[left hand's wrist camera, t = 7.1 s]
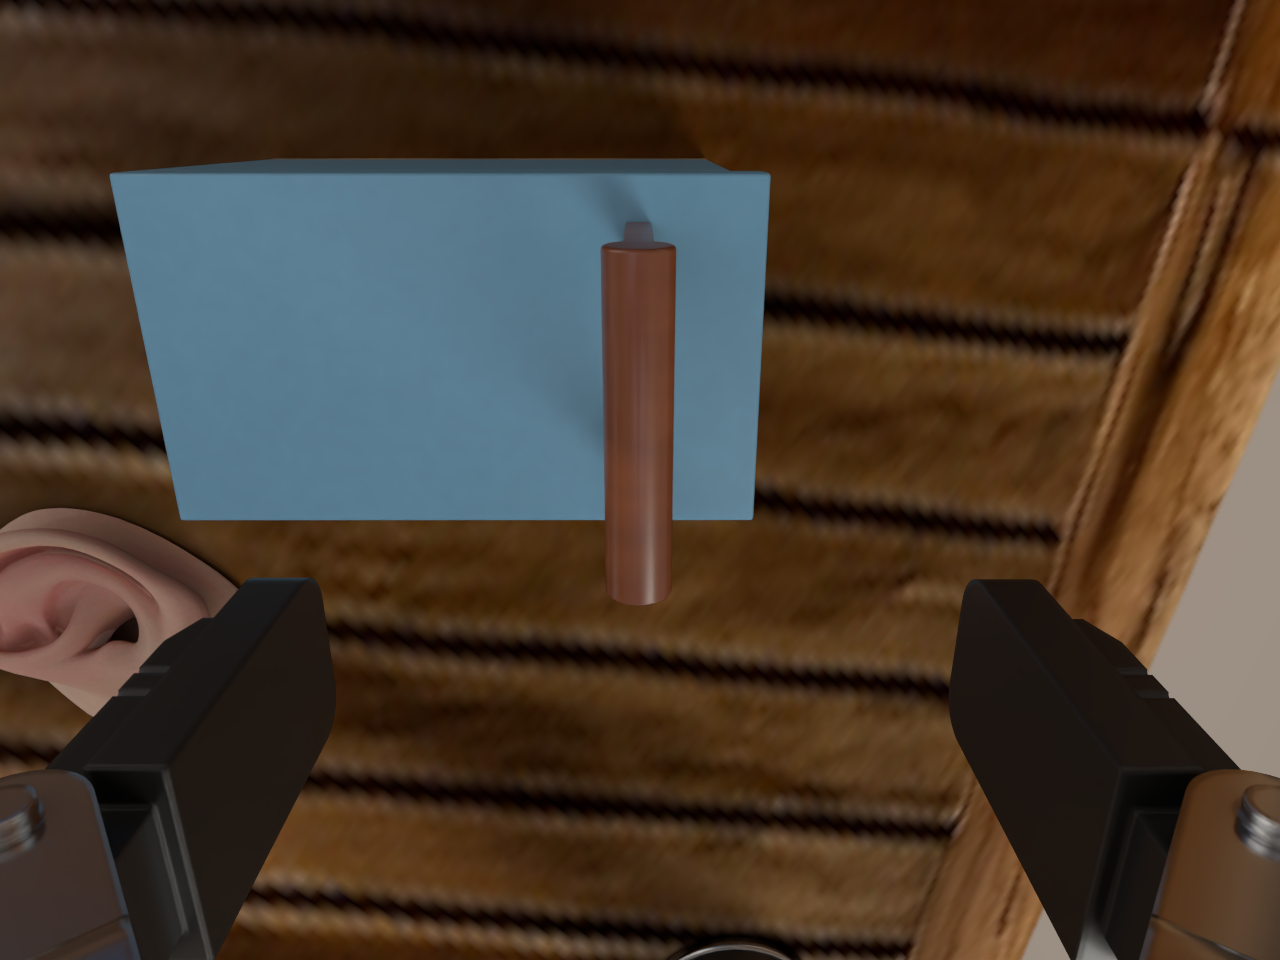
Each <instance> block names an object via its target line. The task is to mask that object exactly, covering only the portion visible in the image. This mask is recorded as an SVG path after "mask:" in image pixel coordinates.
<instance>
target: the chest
mask: <svg viewBox="0 0 1280 960" xmlns="http://www.w3.org/2000/svg"><path fill="white" fill-rule="evenodd" d="M140 171H729V170H727V169H725V168H723V167H720V166H718V165H716V164H714V163H712V162H710V161H708V160H707V159H706V158H276V159H269V160H257V161H246V162H234V163H222V164H210V165H199V166H187V167H175V168H163V169H151V170H140Z"/></svg>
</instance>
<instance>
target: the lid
mask: <svg viewBox="0 0 1280 960" xmlns="http://www.w3.org/2000/svg"><path fill="white" fill-rule="evenodd" d="M110 181H111V185H112V190H113V195H114V200H115V205H116V210H117V214H118V219H119V224H120V229H121V234H122V238H123V243H124V248H125V253H126V258H127V263H128V267H129V272H130V277H131V282H132V287H133V292H134V296H135V301H136V306H137V311H138V316H139V320H140V325H141V330H142V335H143V340H144V345H145V349H146V354H147V359H148V364H149V369H150V374H151V378H152V383H153V388H154V393H155V398H156V403H157V407H158V412H159V417H160V422H161V427H162V431H163V436H164V441H165V446H166V451H167V456H168V460H169V465H170V470H171V475H172V480H173V485H174V489H175V494H176V499H177V504H178V509H179V513H180V518H181V520H605V568H606V591H607V594H608V595H609V596H610V598H612V599H613V600H615V601H617V602H619V603H622V604H626V605H633V606H644V605H651V604H655V603H658V602H661V601H663V600H664V599H666V598H667V597H668V596H669V594H670V592H671V588H672V523H673V520H751V519H752V518H753V509H754V490H755V470H756V450H757V431H758V411H759V392H760V372H761V353H762V333H763V314H764V294H765V274H766V255H767V235H768V216H769V196H770V174H769V173H766V172H763V171H128V172H116V173H112V174H110Z"/></svg>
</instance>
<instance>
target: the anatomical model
mask: <svg viewBox="0 0 1280 960" xmlns="http://www.w3.org/2000/svg"><path fill="white" fill-rule="evenodd" d="M237 590H238V589H237V588H236V587H235V586H234V585H233V584H232V583H231V582H230V581H228V580H227V579H226V578H225V577H223V576H222V575H221V574H219V573H218V572H217V571H215V570H214V569H212V568H211V567H210V566H208V565H207V564H205V563H204V562H202V561H200V560H199V559H197V558H196V557H194V556H192V555H191V554H189V553H188V552H186V551H185V550H183V549H181V548H180V547H178V546H176V545H174V544H173V543H171V542H169V541H167V540H166V539H164V538H162V537H160V536H158V535H156V534H154V533H152V532H150V531H148V530H146V529H143V528H141V527H139V526H136V525H134V524H131V523H129V522H126V521H124V520H121V519H119V518H115V517H112V516H108V515H105V514H101V513H97V512H92V511H87V510H79V509H70V508H49V509H42V510H36V511H33V512H29V513H27V514H24V515H22V516H20V517H18V518H17V519H15V520H13V521H11V522H10V523H8V524H7V525H6V526H5V527H3V528H2V529H1V530H0V669H2V670H5V671H8V672H11V673H15V674H19V675H24V676H28V677H32V678H37V679H41V680H45V681H49V682H50V683H51V684H52V685H53V686H54V687H56V688H57V689H58V690H59V691H60V692H61V693H62V694H64V695H65V696H66V697H67V698H68V699H70V700H71V701H72V702H73V703H75V704H76V705H77V706H79V707H80V708H81V709H83V710H84V711H85V712H87V713H88V714H90V715H91V716H93V717H94V716H95V715H96V714H97V713H98V711H99V710H100V709H101V708H102V707H103V706H104V705H105V704H106V703H107V702H108V701H109V700H110V699H111V697H112V696H118V690H119V689H120V688H121V687H122V686H123V685H124V683H125V682H126V681H127V680H128V679H129V678H130V677H131V676H132V675H133V674H134V673H139V667H140V666H141V665H142V664H143V663H144V662H145V661H146V660H147V659H148V658H149V657H150V655H151V654H152V653H153V652H154V651H155V650H156V649H157V648H158V647H159V646H160V645H161V644H162V643H163V641H164V640H166V639H168V638H169V637H171V636H173V635H175V634H176V633H178V632H180V631H181V630H183V629H185V628H186V627H188V626H190V625H191V624H193V623H195V622H196V621H198V620H200V619H201V618H214V617H215V615H216V614H217V613H218V612H219V611H220V610H221V609H222V607H223V606H224V605H225V604H226V603H227V602H228V601H229V599H230V598H231V597H232V596H233V595H234V594H235V592H236V591H237Z"/></svg>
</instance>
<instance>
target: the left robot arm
mask: <svg viewBox="0 0 1280 960" xmlns="http://www.w3.org/2000/svg"><path fill="white" fill-rule="evenodd" d="M335 704H336V688H335V680H334V673H333V666H332V660H331V653H330V646H329V639H328V633H327V626H326V619H325V613H324V606H323V599H322V594H321V591H320V588H319V585H318V583H317V582H316V581H315V580H314V579H312V578H250V579H248V580H246V581H245V582H244V583H243V584H242V586H241V587H240V588H239V589H238V590H237V591H236V592H235V594H234V595H233V596H232V597H231V598H230V599H229V601H228V602H227V603H226V604H225V605H224V606H223V607H222V609H221V610H220V611H219V612H218V613H217V614H216V615H215V617H214V618H201V619H200V620H198V621H196V622H195V623H193V624H191V625H190V626H188V627H186V628H185V629H183V630H181V631H180V632H178V633H176V634H175V635H173V636H171V637H169V638H168V639H166V640H164V641H163V643H162V644H161V645H160V646H159V647H158V648H157V649H156V650H155V651H154V652H153V653H152V654H151V655H150V657H149V658H148V659H147V660H146V661H145V662H144V663H143V664H142V665H141V666H140V667H139V673H134V674H133V675H132V676H131V677H130V678H129V679H128V680H127V681H126V682H125V683H124V685H123V686H122V687H121V688H120V689H119V690H118V696H112V697H111V699H110V700H109V701H108V702H107V703H106V704H105V705H104V706H103V707H102V708H101V709H100V710H99V711H98V713H97V714H96V715H95V716H94V717H93V718H92V719H91V720H90V721H89V722H88V723H87V724H86V725H85V727H84V728H83V729H82V730H81V731H80V732H79V733H78V734H77V735H76V736H75V737H74V738H73V739H72V741H71V742H70V743H69V744H68V745H67V746H66V747H65V748H64V749H63V750H62V751H61V752H60V753H59V755H58V756H57V757H56V758H55V759H54V760H53V761H52V762H51V763H50V764H49V765H48V766H47V767H46V769H44V770H34V771H27V772H22V773H18V774H13V775H9V776H6V777H3V778H0V960H215V958H216V956H217V954H218V952H219V950H220V948H221V946H222V944H223V942H224V940H225V938H226V936H227V934H228V932H229V930H230V928H231V927H232V925H233V923H234V921H235V919H236V917H237V915H238V913H239V911H240V909H241V907H242V905H243V903H244V901H245V899H246V897H247V895H248V893H249V891H250V889H251V887H252V885H253V884H254V882H255V880H256V878H257V876H258V874H259V872H260V870H261V868H262V866H263V864H264V862H265V860H266V858H267V856H268V854H269V852H270V850H271V848H272V846H273V844H274V843H275V841H276V839H277V837H278V835H279V833H280V831H281V829H282V827H283V825H284V823H285V821H286V819H287V817H288V815H289V813H290V811H291V809H292V807H293V805H294V803H295V801H296V800H297V798H298V796H299V794H300V792H301V790H302V788H303V786H304V784H305V782H306V780H307V778H308V776H309V774H310V772H311V770H312V768H313V766H314V764H315V762H316V760H317V758H318V757H319V755H320V753H321V751H322V749H323V747H324V745H325V743H326V741H327V739H328V737H329V734H330V731H331V728H332V724H333V720H334V714H335ZM949 711H950V718H951V723H952V727H953V731H954V734H955V737H956V739H957V741H958V743H959V745H960V747H961V749H962V751H963V753H964V755H965V757H966V759H967V760H968V762H969V764H970V766H971V768H972V770H973V772H974V774H975V776H976V778H977V780H978V782H979V784H980V786H981V788H982V789H983V791H984V793H985V795H986V797H987V799H988V801H989V803H990V805H991V807H992V809H993V811H994V813H995V815H996V816H997V818H998V820H999V822H1000V824H1001V826H1002V828H1003V830H1004V832H1005V834H1006V836H1007V838H1008V840H1009V842H1010V843H1011V845H1012V847H1013V849H1014V851H1015V853H1016V855H1017V857H1018V859H1019V861H1020V863H1021V865H1022V867H1023V869H1024V871H1025V872H1026V874H1027V876H1028V878H1029V880H1030V882H1031V884H1032V886H1033V888H1034V890H1035V892H1036V894H1037V896H1038V898H1039V899H1040V901H1041V903H1042V905H1043V907H1044V909H1045V911H1046V913H1047V915H1048V917H1049V919H1050V921H1051V923H1052V924H1053V926H1054V928H1055V930H1056V932H1057V934H1058V936H1059V938H1060V940H1061V942H1062V944H1063V946H1064V948H1065V950H1066V952H1067V954H1068V955H1069V957H1070V959H1071V960H1280V778H1277V777H1274V776H1271V775H1267V774H1262V773H1258V772H1253V771H1245V770H1241V769H1240V768H1239V767H1238V766H1237V765H1236V764H1235V763H1234V762H1233V761H1232V760H1231V759H1230V757H1229V756H1228V755H1227V754H1226V753H1225V752H1224V751H1223V750H1222V749H1221V748H1220V747H1219V746H1218V745H1217V744H1216V743H1215V741H1214V740H1213V739H1212V738H1211V737H1210V736H1209V735H1208V734H1207V733H1206V732H1205V731H1204V730H1203V729H1202V728H1201V726H1200V725H1199V724H1198V723H1197V722H1196V721H1195V720H1194V719H1193V718H1192V717H1191V716H1190V715H1189V714H1188V713H1187V712H1186V710H1185V709H1184V708H1183V707H1182V706H1181V705H1180V704H1179V703H1178V702H1177V701H1176V700H1175V699H1174V698H1169V696H1168V691H1167V690H1166V689H1165V688H1164V687H1163V686H1162V685H1161V684H1160V683H1159V682H1158V681H1157V680H1156V678H1155V677H1154V676H1153V675H1148V674H1147V669H1146V668H1145V667H1144V666H1143V665H1142V663H1141V662H1140V661H1139V660H1138V659H1137V658H1136V657H1135V656H1134V655H1133V654H1132V653H1131V652H1130V651H1129V650H1128V649H1127V647H1126V646H1125V645H1124V644H1123V643H1122V642H1120V641H1119V640H1117V639H1115V638H1114V637H1112V636H1110V635H1108V634H1107V633H1105V632H1103V631H1102V630H1100V629H1098V628H1097V627H1095V626H1093V625H1092V624H1090V623H1088V622H1087V621H1085V620H1083V619H1072V618H1071V617H1070V616H1069V615H1068V614H1067V613H1066V612H1065V610H1064V609H1063V608H1062V607H1061V606H1060V605H1059V604H1058V602H1057V601H1056V600H1055V599H1054V598H1053V597H1052V596H1051V594H1050V593H1049V592H1048V591H1047V590H1046V589H1045V588H1044V587H1043V585H1042V584H1041V583H1040V582H1038V581H1037V580H1033V579H974V580H971V581H970V582H969V583H968V585H967V587H966V589H965V592H964V595H963V600H962V606H961V613H960V620H959V626H958V633H957V640H956V646H955V653H954V659H953V666H952V673H951V679H950V686H949ZM669 960H799V959H798V958H797V957H795V956H794V955H793V954H791V953H790V952H789V951H787V950H785V949H783V948H781V947H779V946H777V945H775V944H772V943H769V942H766V941H762V940H758V939H753V938H745V937H725V938H717V939H711V940H707V941H703V942H700V943H697V944H694V945H692V946H690V947H687V948H685V949H683V950H682V951H680V952H678V953H677V954H675V955H674V956H672V957H671V958H670V959H669Z"/></svg>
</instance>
